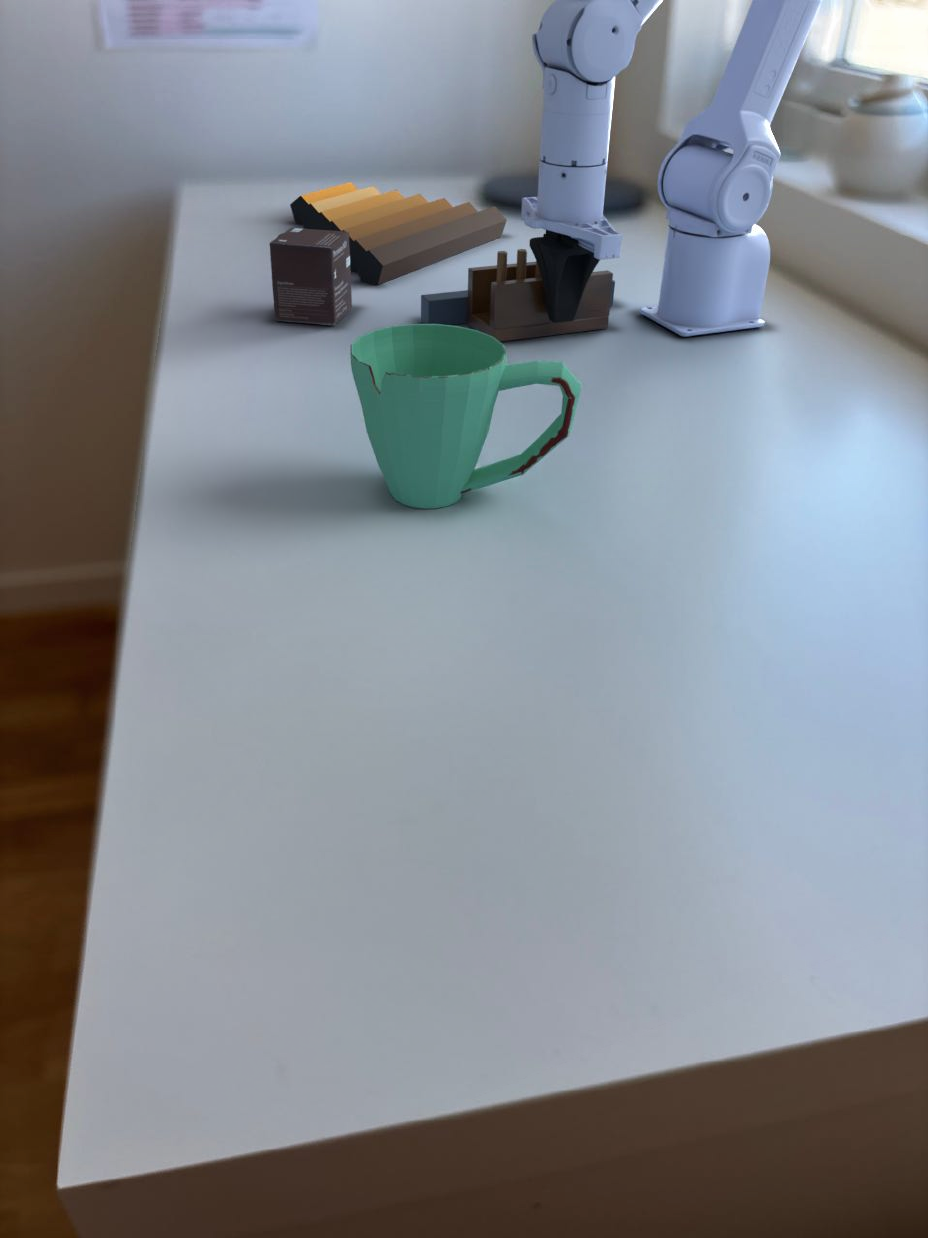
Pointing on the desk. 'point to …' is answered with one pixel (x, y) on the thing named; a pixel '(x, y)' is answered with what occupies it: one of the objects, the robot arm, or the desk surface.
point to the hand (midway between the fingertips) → (561, 320)
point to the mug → (445, 408)
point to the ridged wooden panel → (396, 228)
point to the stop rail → (452, 307)
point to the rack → (529, 301)
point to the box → (311, 276)
